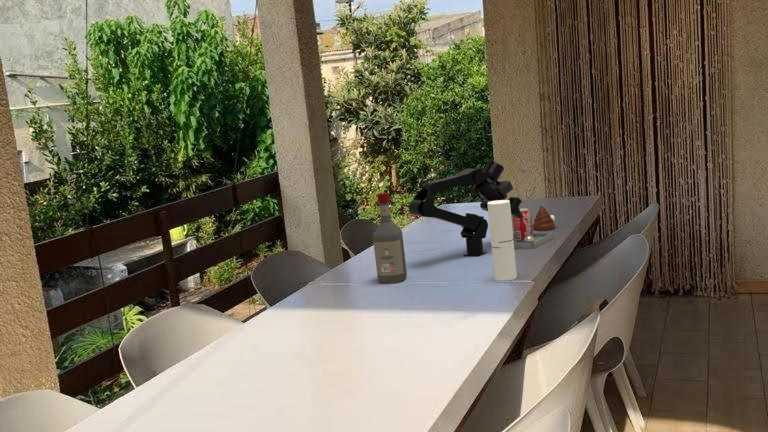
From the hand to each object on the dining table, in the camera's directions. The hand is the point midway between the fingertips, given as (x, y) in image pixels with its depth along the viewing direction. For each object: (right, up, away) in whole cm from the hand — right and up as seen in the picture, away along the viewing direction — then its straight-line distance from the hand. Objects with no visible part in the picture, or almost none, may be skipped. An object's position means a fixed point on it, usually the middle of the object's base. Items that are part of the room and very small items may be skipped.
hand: (513, 216), depth 324 cm
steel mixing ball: (+5, -11, -6) cm, 13 cm away
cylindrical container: (-10, -20, -48) cm, 53 cm away
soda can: (+5, -9, +4) cm, 11 cm away
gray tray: (+4, -10, +2) cm, 11 cm away
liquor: (-46, -22, -33) cm, 61 cm away
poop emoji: (+16, -5, +24) cm, 30 cm away
